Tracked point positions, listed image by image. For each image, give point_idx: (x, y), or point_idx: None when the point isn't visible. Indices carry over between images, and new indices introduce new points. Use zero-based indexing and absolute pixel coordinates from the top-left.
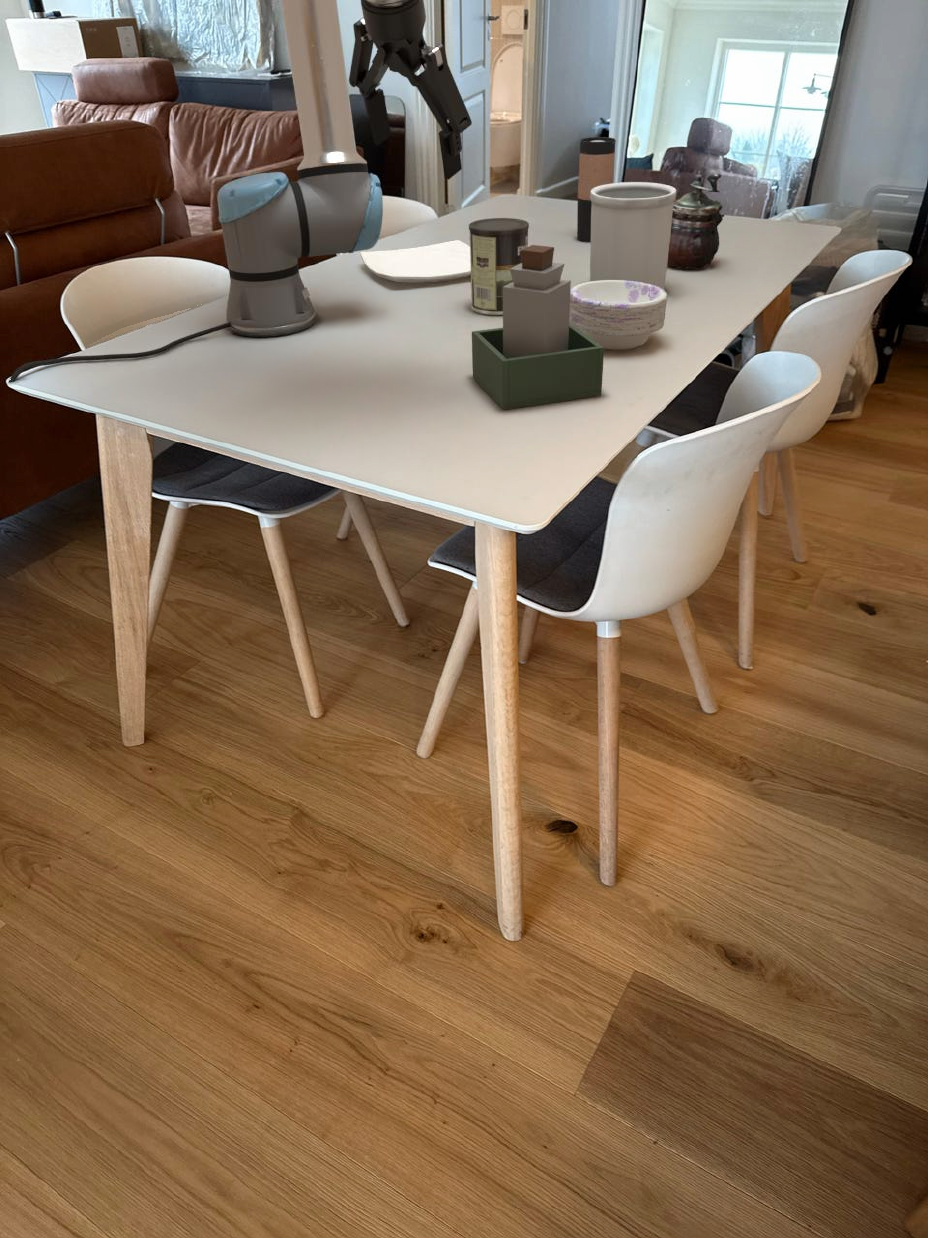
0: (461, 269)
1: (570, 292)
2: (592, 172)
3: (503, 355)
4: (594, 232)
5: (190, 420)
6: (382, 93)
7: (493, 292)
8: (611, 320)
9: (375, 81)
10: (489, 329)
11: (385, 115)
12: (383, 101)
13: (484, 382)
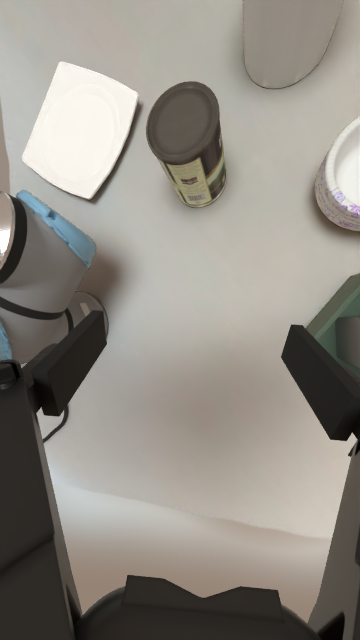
0: (108, 120)
1: (336, 200)
2: None
3: (348, 362)
4: (264, 8)
5: (170, 496)
6: (54, 371)
7: (207, 193)
8: None
9: (44, 455)
10: (314, 337)
11: (85, 339)
12: (66, 356)
13: None
